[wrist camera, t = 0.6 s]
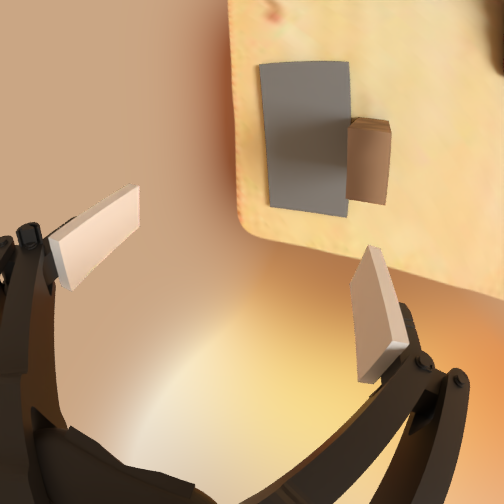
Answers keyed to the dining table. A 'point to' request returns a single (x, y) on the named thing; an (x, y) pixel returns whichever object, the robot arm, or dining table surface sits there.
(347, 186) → the walnut block
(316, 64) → the mat
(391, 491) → the robot arm
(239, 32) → the dining table surface
